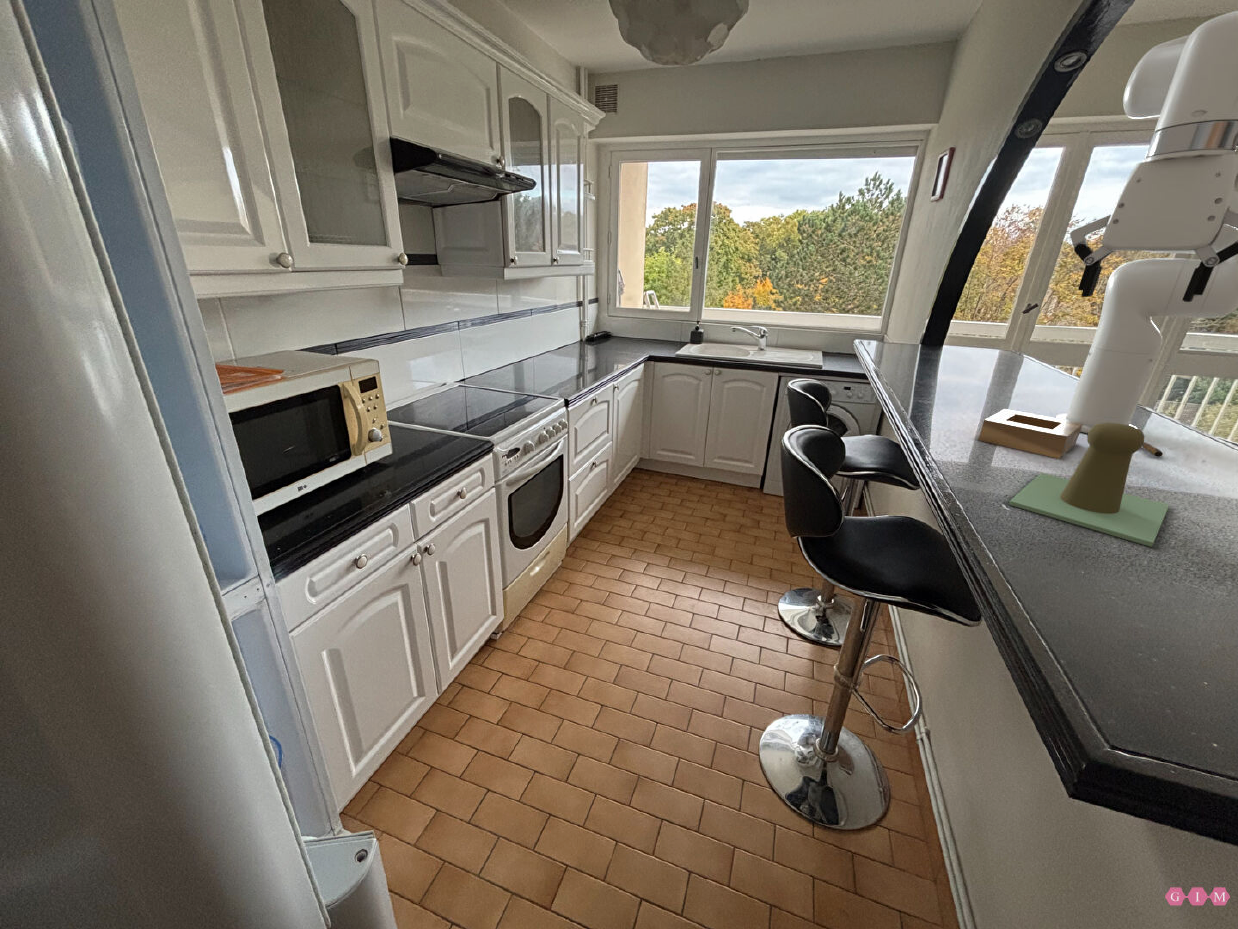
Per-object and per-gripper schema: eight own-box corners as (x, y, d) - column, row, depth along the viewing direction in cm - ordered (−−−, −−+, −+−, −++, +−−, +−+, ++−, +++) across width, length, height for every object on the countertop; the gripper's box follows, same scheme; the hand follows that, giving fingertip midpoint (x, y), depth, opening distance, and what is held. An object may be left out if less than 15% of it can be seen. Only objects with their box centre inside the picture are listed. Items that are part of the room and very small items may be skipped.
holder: (998, 428, 101) (1004, 408, 99) (1075, 444, 92) (1083, 423, 91) (978, 440, 94) (984, 419, 92) (1059, 458, 85) (1067, 436, 84)
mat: (1040, 476, 78) (1041, 472, 78) (1167, 508, 68) (1169, 504, 68) (1008, 504, 68) (1009, 500, 68) (1151, 547, 59) (1153, 542, 58)
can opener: (1161, 458, 86) (1164, 452, 85) (1143, 455, 87) (1146, 449, 86) (1146, 444, 93) (1149, 438, 92) (1129, 441, 94) (1132, 435, 94)
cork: (1131, 516, 65) (1167, 434, 60) (1077, 511, 66) (1109, 430, 61) (1099, 496, 70) (1130, 420, 66) (1050, 491, 71) (1078, 416, 67)
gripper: (1307, 140, 56) (1234, 302, 62) (1101, 160, 68) (1058, 294, 74) (1311, 128, 51) (1231, 304, 58) (1089, 152, 64) (1044, 295, 70)
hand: (1134, 298), depth 66 cm, fingers open, 9 cm apart
